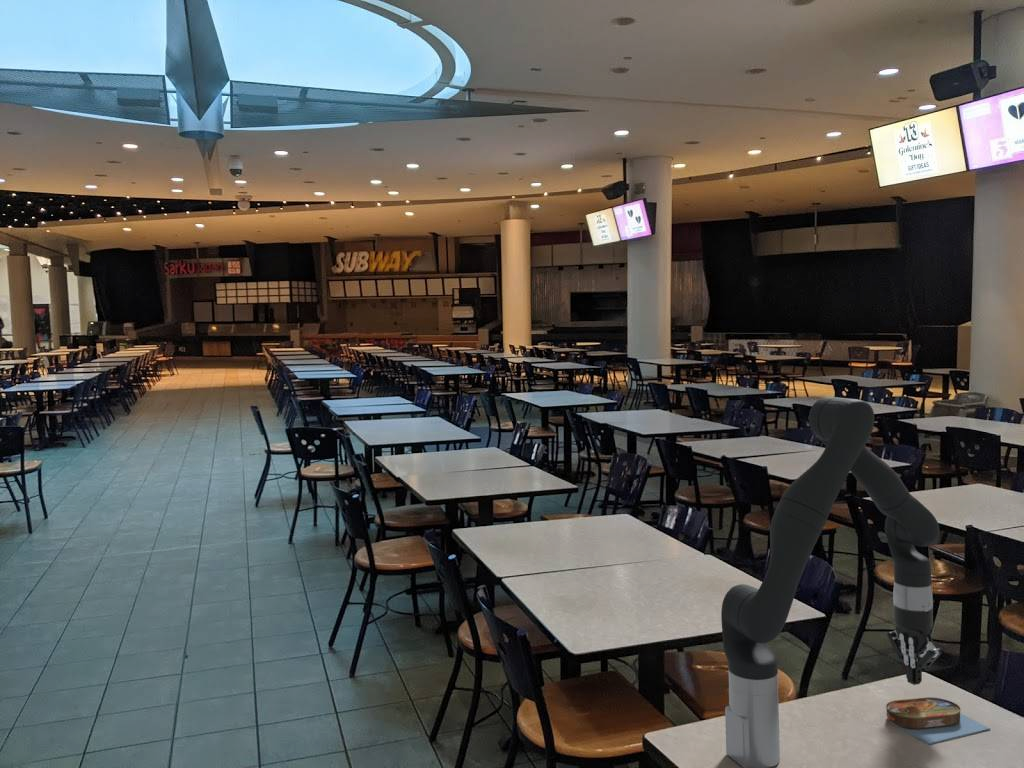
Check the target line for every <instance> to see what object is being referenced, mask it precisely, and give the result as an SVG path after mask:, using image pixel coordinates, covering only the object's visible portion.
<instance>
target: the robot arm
mask: <svg viewBox="0 0 1024 768" xmlns="http://www.w3.org/2000/svg"><path fill="white" fill-rule="evenodd" d="M808 422H809V427H810V429H811V431H812V432H813V435H815V436H816V438H818V439H819V440H820V442H821V443H822V444H823V445H824V446H825V448H824V450H823V451H822V453H821V455H820V456H819V458H818V459H817V460H816V461H815V462H814V463H813V465H811V466H810V467H809V468H808V469H807V470H806V471H805V472H803V473H802V474H800V476H798V477H797V478H796V479H795V480H794V481H793V482H792V483H790V485H789V486H788V487H787V488H786V489H785V491H784V492H783V493H782V496H781V497H780V500H779V503H778V504H777V507H776V508H775V510H774V514H773V515H772V518H771V520H770V521H771V522H770V528H769V543H770V544H769V545H770V548H769V549H770V554H769V555H770V558H769V564H768V568H767V571H766V573H765V575H764V577H763V580H762V582H761V584H760V586H759V587H758V588H756V587H754V586H752V585H748V584H742V583H741V584H737V585H734V586H732V587H731V588H730V589H729V590H728V591H727V592H726V593H725V596H724V598H723V600H722V602H721V603H722V605H721V616H720V617H721V632H722V633H721V634H722V644H723V653H724V654H725V657H726V660H727V668H728V699H729V700H728V702H729V703H728V704H729V705H727V706H725V708H724V712H725V713H724V717H725V719H724V720H725V749H726V751H725V753H726V755H727V756H728V757H729V758H731V759H732V760H733V761H735V763H737V764H738V765H739V766H740V767H742V768H773V767H775V766H777V765H779V763H780V761H781V749H780V748H781V747H780V745H781V744H780V743H781V742H780V711H779V706H780V705H779V704H780V703H779V671H778V670H779V669H778V668H779V665H778V659H777V656H776V655H775V653H774V652H773V650H772V649H771V648H770V647H769V644H768V643H770V642H772V641H774V640H775V639H776V638H777V637H778V636H779V635H780V633H782V630H783V628H784V627H785V625H786V622H787V619H788V616H789V613H790V611H791V608H792V605H793V601H794V598H795V596H796V592H797V590H798V586H799V583H800V581H801V579H802V576H803V573H804V571H805V568H806V566H807V564H808V561H809V560H810V557H811V554H812V552H813V550H814V547H815V545H816V544H817V542H818V539H819V537H821V534H822V531H823V529H824V527H825V525H826V523H827V520H828V518H829V516H830V513H831V511H832V508H833V506H834V504H835V501H836V499H837V497H838V495H839V494H840V491H841V489H842V488H843V485H844V483H845V481H846V480H847V477H848V476H849V473H851V474H852V475H853V477H854V478H855V479H856V480H857V482H858V483H859V484H860V485H861V486H862V488H863V489H864V490H865V492H866V493H867V495H868V496H869V497H870V500H871V501H872V502H873V503H874V505H875V507H876V508H877V509H878V510H879V512H880V513H882V514H883V515H885V516H886V519H885V521H884V532H885V538H886V541H887V544H888V547H889V551H890V555H891V557H892V560H893V569H894V570H893V574H894V575H893V580H894V583H893V592H892V593H893V594H892V595H893V596H892V597H893V599H892V600H893V602H892V603H893V623H894V624H895V627H894V628H895V629H894V630H893V631H888V632H887V633H886V635H887V638H888V640H889V642H890V645H891V646H892V648H893V649H894V652H895V654H896V656H897V659H899V660H900V661H901V660H902V661H903V662H904V665H905V677H906V680H907V683H909V684H911V685H912V686H916V685H920V684H921V683H922V681H923V677H922V675H923V674H922V673H923V672H922V670H923V668H924V669H925V668H929V667H930V666H932V664H933V663H934V662H935V661H936V660H937V659H938V658H939V657H940V656H941V655H942V653H943V651H942V649H941V648H938V647H936V646H935V645H934V644H933V637H932V635H931V631H932V628H933V627H934V613H933V612H934V606H933V605H934V604H933V603H934V602H933V601H934V600H933V590H932V565H931V561H930V559H929V558H928V557H927V556H925V555H924V554H922V553H920V552H919V551H918V550H917V549H916V547H915V546H917V547H920V548H921V547H922V548H926V547H931V546H932V545H934V544H935V543H937V541H938V539H939V536H940V525H939V523H938V520H937V518H936V517H935V515H934V514H933V513H932V512H931V511H930V510H929V509H928V508H927V507H926V506H925V505H924V504H922V503H921V501H919V499H917V498H916V497H915V496H913V495H912V494H911V493H910V492H909V489H908V488H907V487H906V485H905V484H904V483H903V480H902V479H901V478H900V476H899V475H898V474H897V473H896V471H895V470H894V469H892V467H891V466H890V465H889V464H888V463H886V462H885V460H883V459H881V458H880V456H878V455H877V454H875V453H874V452H873V451H872V450H871V449H870V448H868V446H867V445H866V444H867V443H868V441H869V439H870V438H871V435H872V432H873V429H874V426H875V412H874V409H873V407H872V406H871V405H870V403H868V402H867V401H865V400H860V399H857V398H847V397H837V396H834V397H833V396H831V397H829V396H828V397H822V398H820V399H817V400H816V401H815V402H814V403H813V404H812V406H811V408H810V410H809V414H808Z"/></svg>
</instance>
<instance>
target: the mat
mask: <svg viewBox="0 0 1024 768" xmlns="http://www.w3.org/2000/svg"><path fill="white" fill-rule="evenodd" d="M889 723H890V724H892V725H893V726H895V727H897V728H899V729H901V730H902V731H904V732H905V733H908V734H910V735H911V736H913V737H915V738H917V739H919V741H920V740H921V741H922V742H924V743H925V744H927V745H930V746H931V745H933V744H937V743H941V742H946V741H949V740H950V741H951V740H954V739H957V738H958V739H959V738H962V737H965V736H969V735H974V734H978V733H982V732H986V731H990V730H991V727H988V726H987V725H985V724H983V723H981V722H979V721H977V720H974V719H973V718H970V717H969V716H966V715H965V714H964V713H961V712H960V722H959V723H958V724H956V725H953V726H945V727H935V728H925V729H908V728H903V727H900V726H897V725H896V724H894V723H893V722H891V721H890V720H889Z"/></svg>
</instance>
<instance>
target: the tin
mask: <svg viewBox="0 0 1024 768" xmlns="http://www.w3.org/2000/svg"><path fill="white" fill-rule="evenodd" d="M885 708H886V719H888V720H889V722H890V721H891V722H893V723H894V724H896V725H897V726H900V727H903V728H908V729H925V728H935V727H945V726H953V725H956V724H958V723H959V722H960V713H961V707H960V706H959V705H958V704H957V703H956V702H953V701H950V700H948V699H945V698H944V699H943V698H940V697H929V696H928V697H918V698H908V699H907V698H906V699H897V700H896V699H895V700H892V701H889V702H888V703H886V705H885ZM897 726H896V727H897Z"/></svg>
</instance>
